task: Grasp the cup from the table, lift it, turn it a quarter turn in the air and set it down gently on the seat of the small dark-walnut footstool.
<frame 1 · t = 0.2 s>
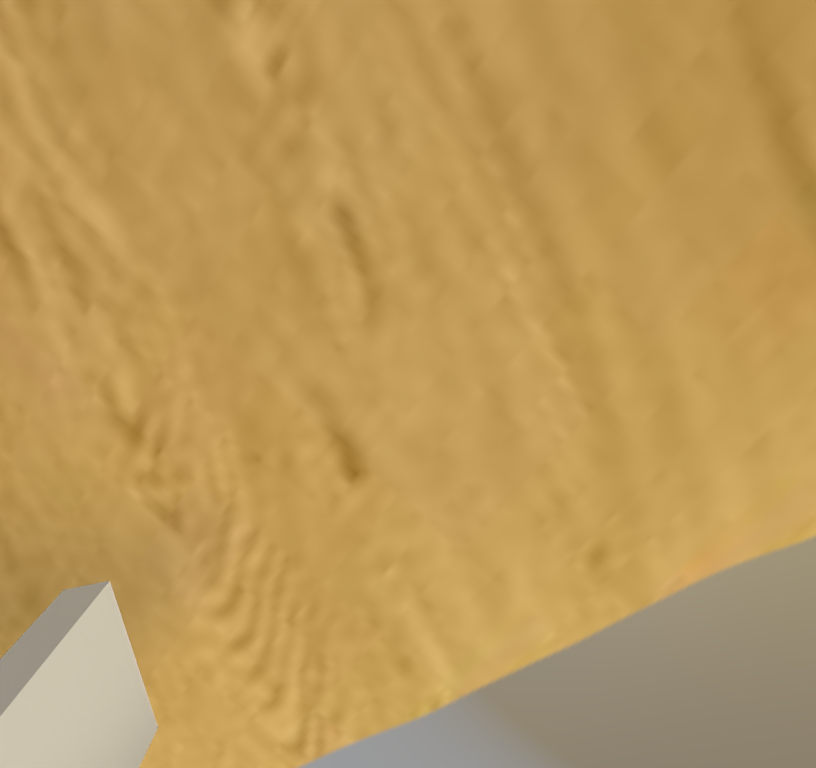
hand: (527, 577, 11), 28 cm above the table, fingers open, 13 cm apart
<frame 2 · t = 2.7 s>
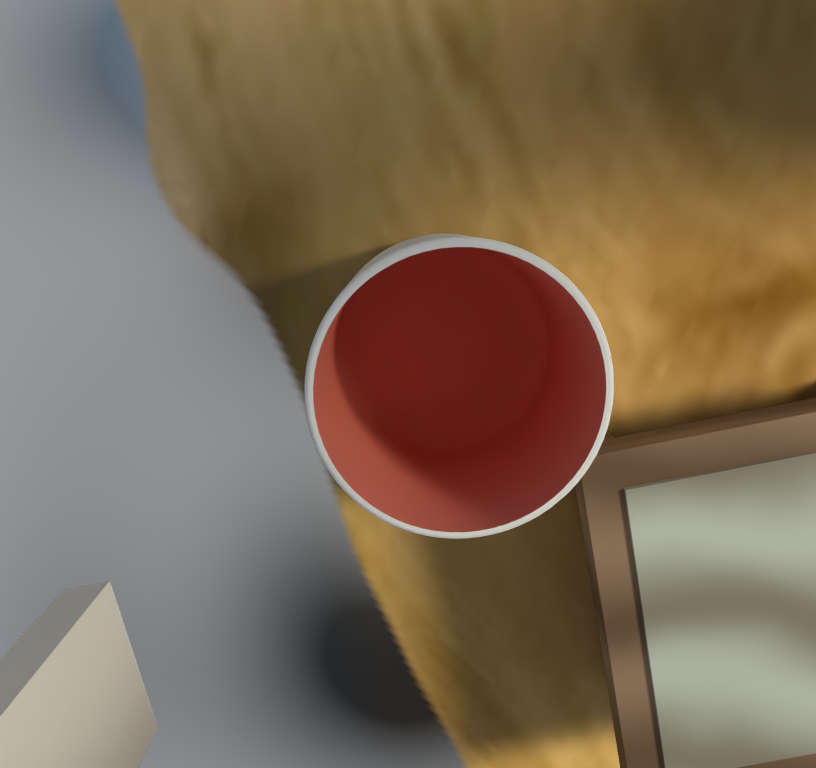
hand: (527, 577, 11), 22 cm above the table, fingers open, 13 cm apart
footstool: (728, 533, 35), on the table
cup: (440, 343, 33), on the table
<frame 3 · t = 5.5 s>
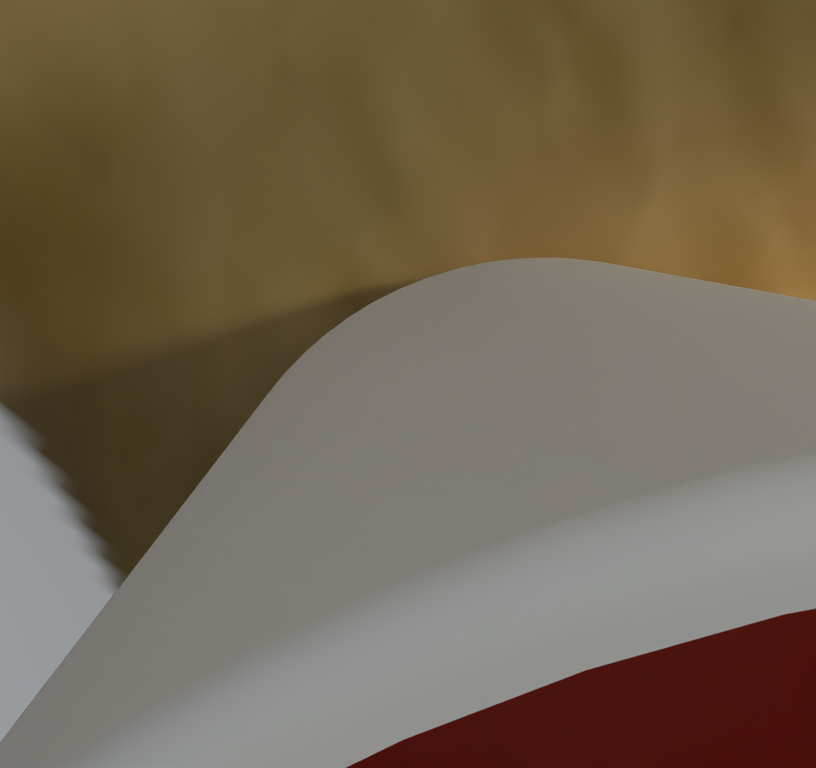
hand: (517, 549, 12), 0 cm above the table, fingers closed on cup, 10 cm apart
cup: (514, 537, 13), on the table, touching gripper
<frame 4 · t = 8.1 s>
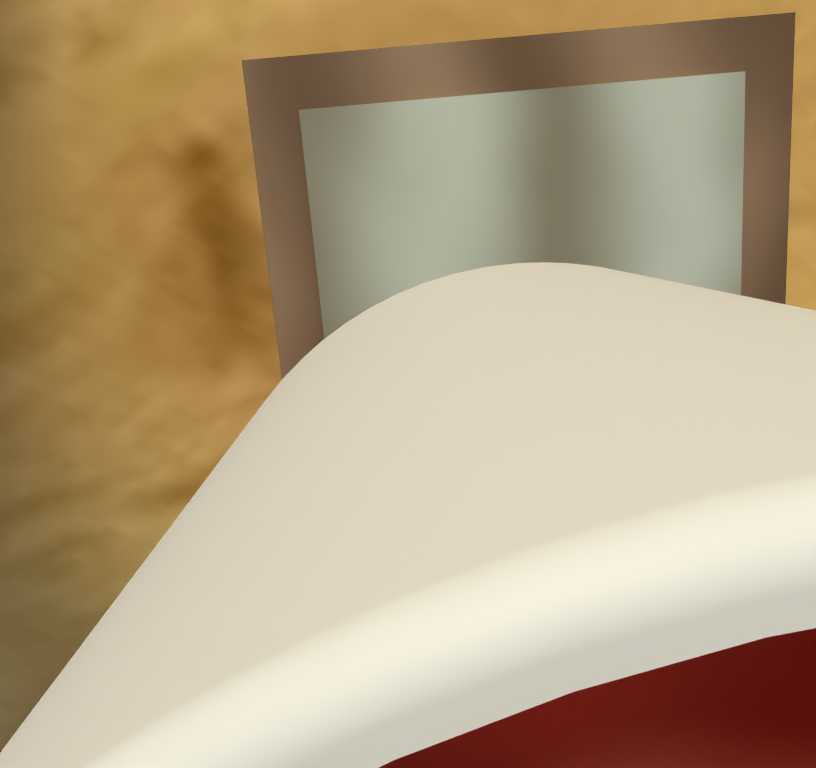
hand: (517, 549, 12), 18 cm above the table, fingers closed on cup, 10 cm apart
footstool: (498, 291, 29), on the table
cup: (513, 540, 13), point 17 cm above the table, touching gripper
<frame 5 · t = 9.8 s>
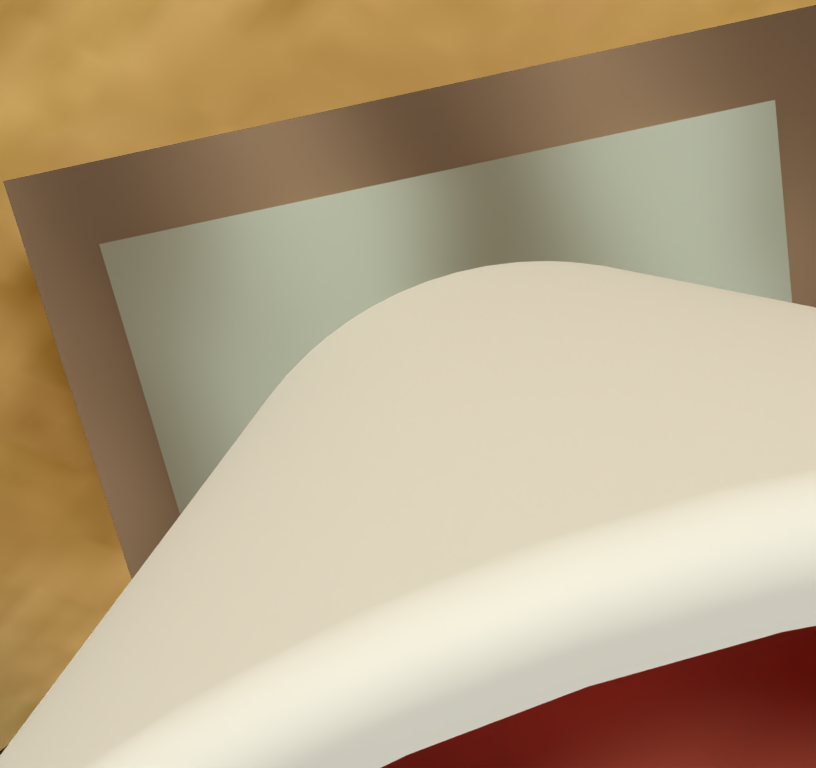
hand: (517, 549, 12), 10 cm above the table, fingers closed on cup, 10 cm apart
footstool: (461, 404, 22), on the table
cup: (514, 539, 13), point 9 cm above the table, touching gripper
when the fingers open (9 cm above the table, at t = 11.0 s): cup drops 1 cm, resting on footstool.
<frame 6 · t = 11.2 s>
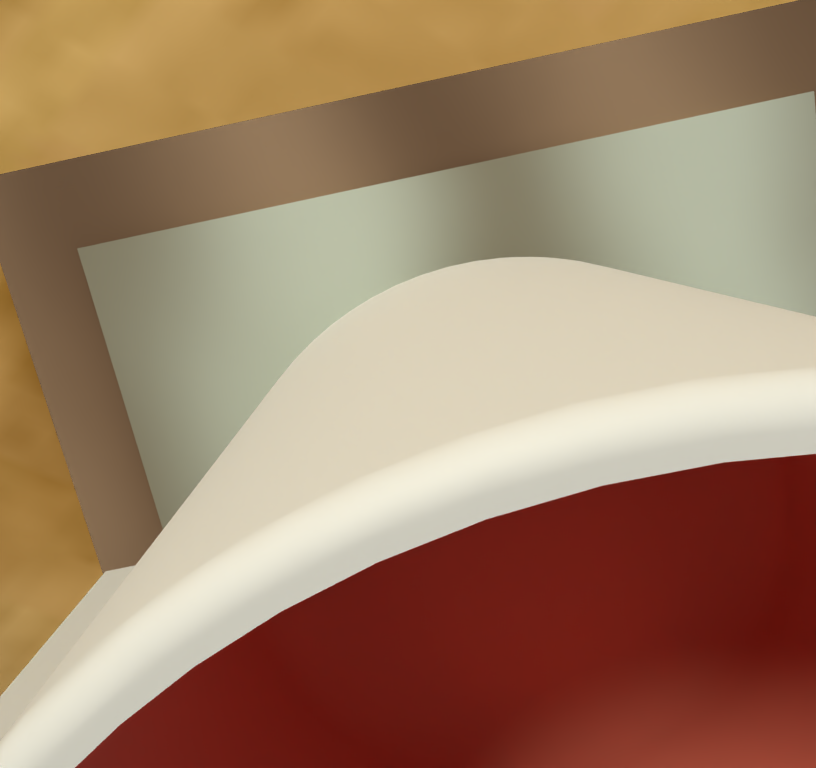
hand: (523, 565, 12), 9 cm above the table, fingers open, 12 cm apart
footstool: (467, 416, 21), on the table
cup: (503, 512, 14), point 7 cm above the table, touching footstool
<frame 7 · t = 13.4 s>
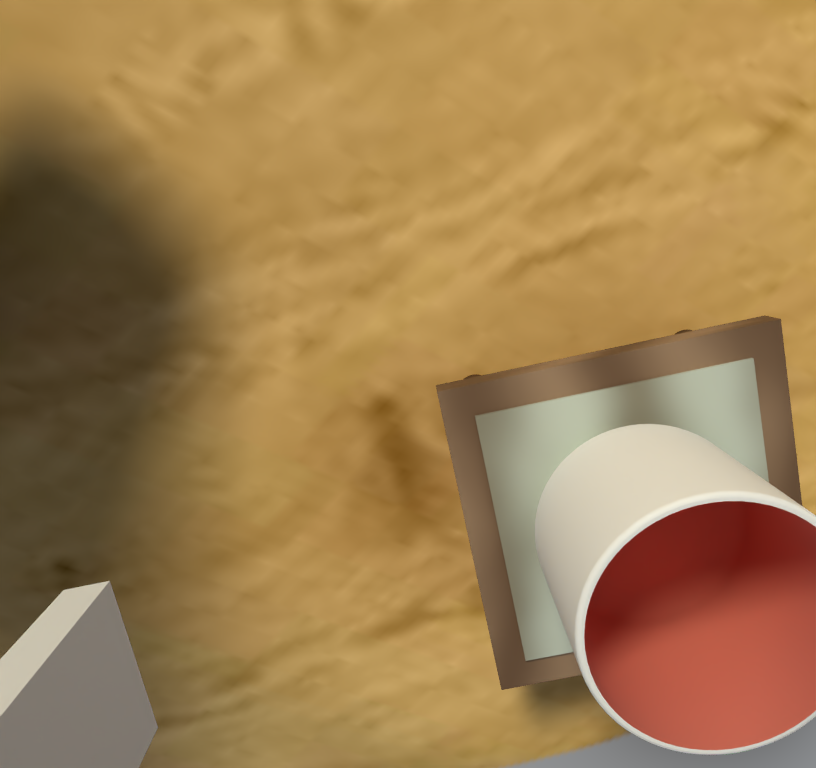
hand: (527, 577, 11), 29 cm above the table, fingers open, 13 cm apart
footstool: (596, 469, 41), on the table
cup: (632, 515, 34), point 7 cm above the table, touching footstool
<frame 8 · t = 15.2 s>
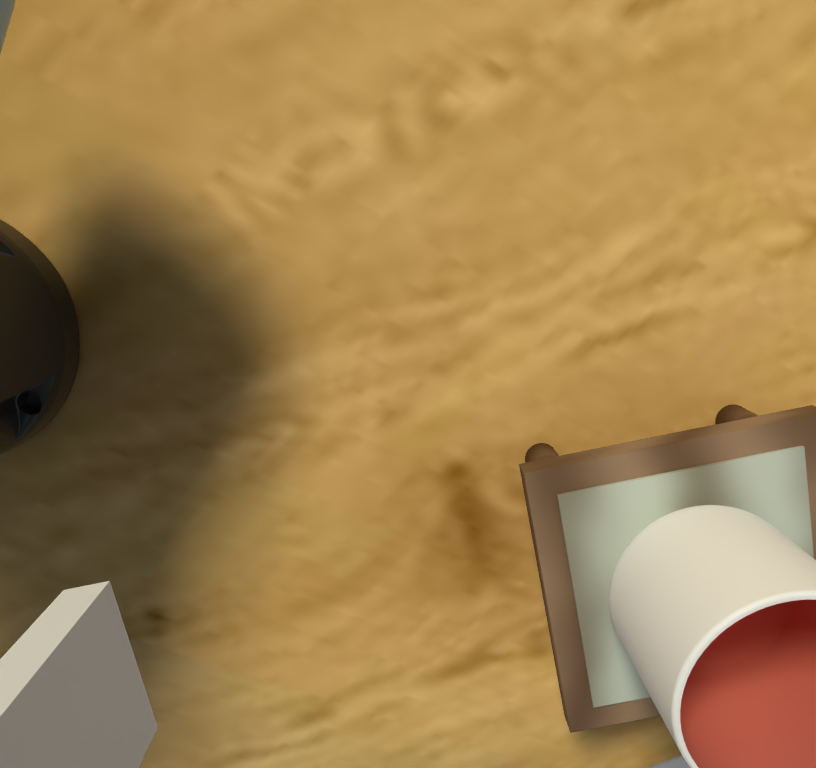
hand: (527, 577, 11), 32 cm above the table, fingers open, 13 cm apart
footstool: (648, 527, 45), on the table
cup: (692, 581, 38), point 7 cm above the table, touching footstool
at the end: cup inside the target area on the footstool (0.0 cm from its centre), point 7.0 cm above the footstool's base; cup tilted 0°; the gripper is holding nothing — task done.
